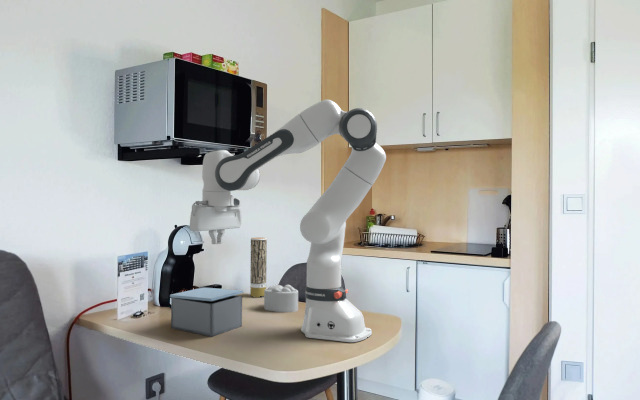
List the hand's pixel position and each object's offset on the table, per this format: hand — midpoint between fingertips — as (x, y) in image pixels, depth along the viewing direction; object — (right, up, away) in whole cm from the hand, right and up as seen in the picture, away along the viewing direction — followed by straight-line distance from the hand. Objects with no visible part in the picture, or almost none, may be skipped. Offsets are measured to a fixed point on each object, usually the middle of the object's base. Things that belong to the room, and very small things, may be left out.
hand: (216, 243), depth 147 cm
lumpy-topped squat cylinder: (+19, -28, +28) cm, 44 cm away
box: (-4, -27, +2) cm, 28 cm away
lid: (-4, -17, +2) cm, 17 cm away
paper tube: (+6, -28, +51) cm, 58 cm away
